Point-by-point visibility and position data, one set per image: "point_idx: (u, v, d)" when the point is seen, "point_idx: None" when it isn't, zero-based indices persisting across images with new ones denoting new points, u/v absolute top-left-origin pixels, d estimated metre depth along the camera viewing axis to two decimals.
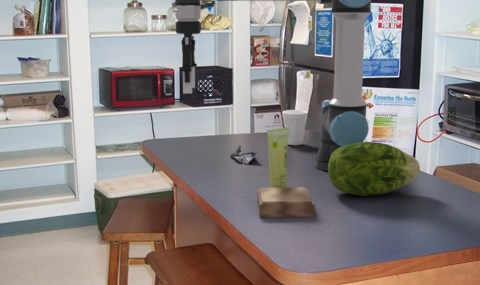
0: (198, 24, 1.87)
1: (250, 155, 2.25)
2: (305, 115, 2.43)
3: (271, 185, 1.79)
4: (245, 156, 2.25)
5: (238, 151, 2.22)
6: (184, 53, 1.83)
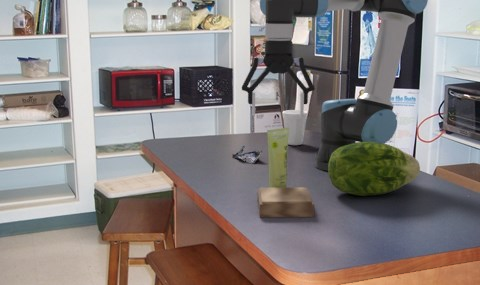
0: (272, 44, 1.69)
1: (252, 154, 2.27)
2: (305, 115, 2.43)
3: (271, 185, 1.79)
4: (247, 156, 2.27)
5: (241, 151, 2.23)
6: None
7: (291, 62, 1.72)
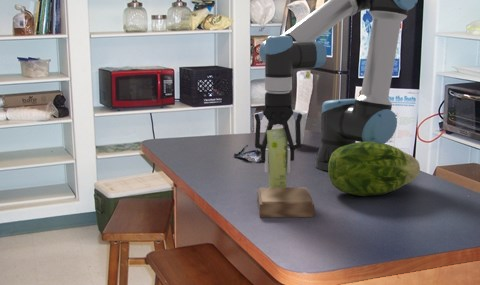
0: (272, 97, 1.72)
1: (253, 153, 2.28)
2: (305, 115, 2.43)
3: (271, 185, 1.79)
4: (248, 155, 2.28)
5: None
6: None
7: (290, 114, 1.75)
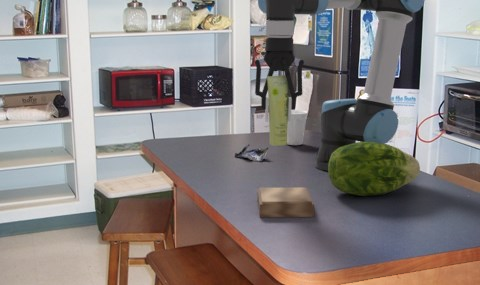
0: (273, 41, 1.67)
1: (253, 153, 2.29)
2: (305, 115, 2.43)
3: (271, 134, 1.74)
4: (249, 154, 2.29)
5: (245, 150, 2.25)
6: None
7: (291, 60, 1.70)
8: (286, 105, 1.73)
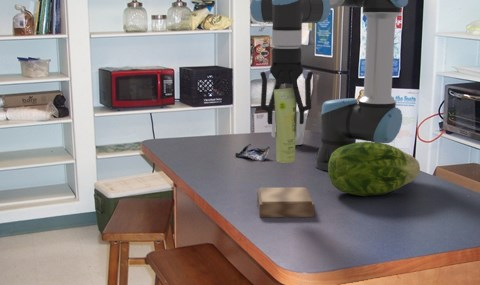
0: (280, 52, 1.57)
1: (253, 152, 2.30)
2: (305, 115, 2.43)
3: (278, 151, 1.64)
4: (249, 154, 2.29)
5: (246, 149, 2.25)
6: None
7: (299, 72, 1.60)
8: (294, 120, 1.63)
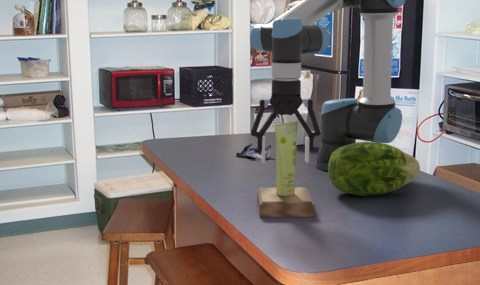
0: (280, 84, 1.58)
1: (253, 151, 2.31)
2: (305, 115, 2.43)
3: (278, 184, 1.66)
4: (249, 153, 2.30)
5: None
6: (256, 116, 1.64)
7: (299, 103, 1.62)
8: (294, 154, 1.65)
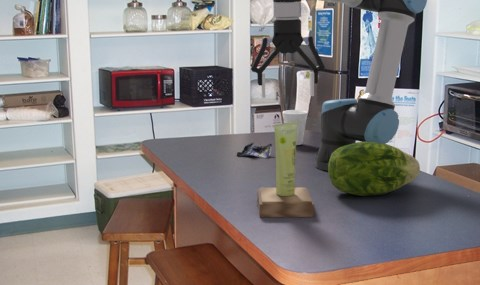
0: (282, 23, 1.67)
1: (252, 150, 2.33)
2: (305, 115, 2.43)
3: (278, 184, 1.66)
4: (248, 152, 2.32)
5: None
6: None
7: (300, 41, 1.70)
8: (294, 154, 1.65)
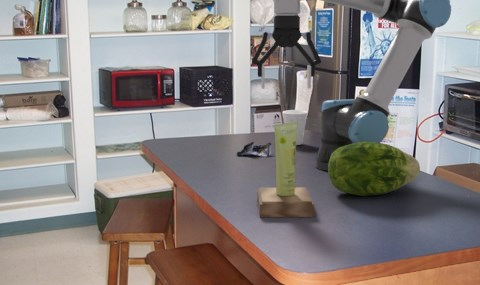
0: (281, 19, 1.78)
1: None
2: (305, 115, 2.43)
3: (278, 184, 1.66)
4: None
5: None
6: (258, 47, 1.83)
7: (299, 36, 1.81)
8: (294, 154, 1.65)
